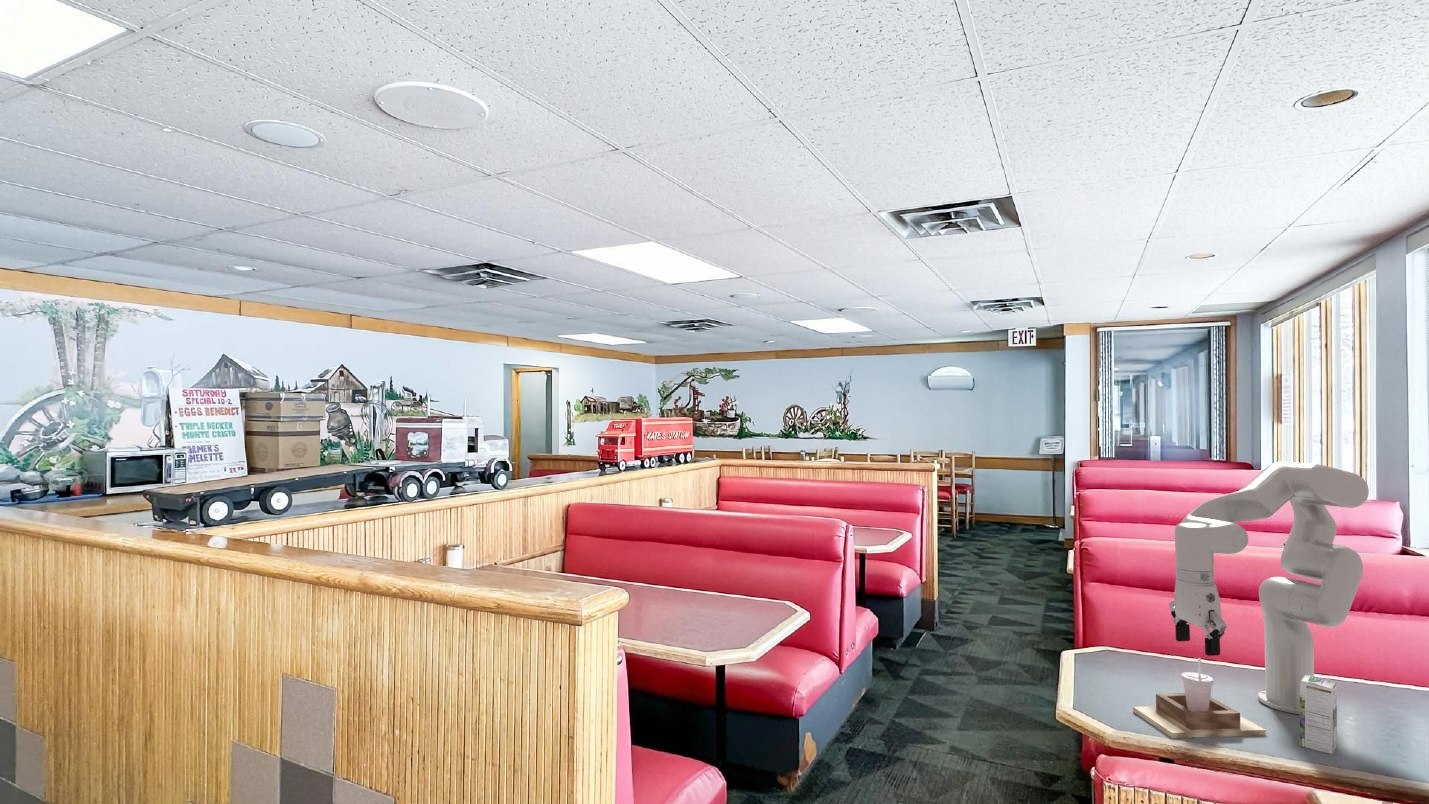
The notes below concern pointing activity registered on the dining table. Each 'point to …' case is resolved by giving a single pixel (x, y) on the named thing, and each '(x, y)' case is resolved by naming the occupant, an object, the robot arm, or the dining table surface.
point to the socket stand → (1196, 719)
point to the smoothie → (1197, 689)
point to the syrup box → (1318, 714)
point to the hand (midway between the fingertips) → (1197, 647)
